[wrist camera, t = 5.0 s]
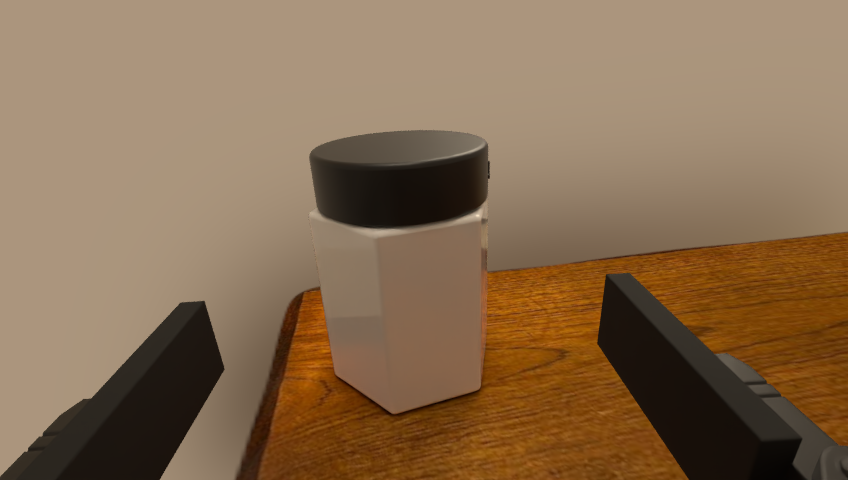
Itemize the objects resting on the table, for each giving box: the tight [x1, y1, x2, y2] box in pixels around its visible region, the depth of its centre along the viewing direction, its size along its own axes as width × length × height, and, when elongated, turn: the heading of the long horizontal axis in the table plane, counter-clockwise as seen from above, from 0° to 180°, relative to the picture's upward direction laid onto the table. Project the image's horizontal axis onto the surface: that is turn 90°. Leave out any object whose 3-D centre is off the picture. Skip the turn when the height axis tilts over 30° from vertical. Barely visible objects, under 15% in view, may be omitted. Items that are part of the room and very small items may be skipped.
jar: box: [309, 130, 490, 414], centre depth 22 cm, size 9×8×12 cm
